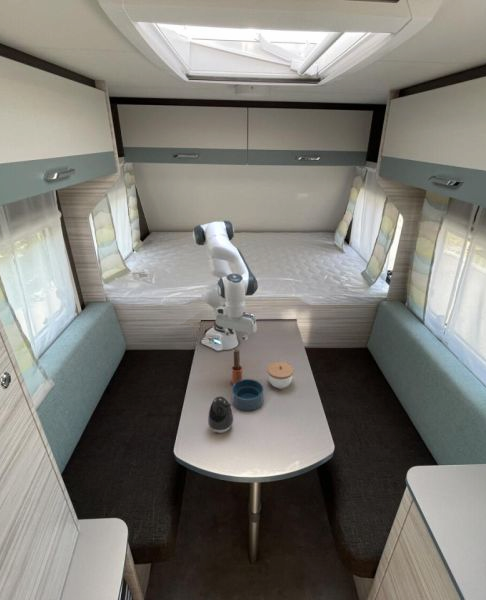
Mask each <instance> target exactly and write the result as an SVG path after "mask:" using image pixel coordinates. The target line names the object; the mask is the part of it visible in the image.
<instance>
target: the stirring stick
mask: <svg viewBox="0 0 486 600" xmlns="http://www.w3.org/2000/svg"><path fill="white" fill-rule="evenodd" d="M240 355H241V353H240V350H239V349H235V350H234V351H233V366H234V370H240V365H241V361H240V360H241V359H240V357H241V356H240Z"/></svg>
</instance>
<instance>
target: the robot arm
mask: <svg viewBox="0 0 486 600" xmlns="http://www.w3.org/2000/svg"><path fill="white" fill-rule="evenodd" d="M234 236H235V228H234V225H233V224H232V222H231V221H230V220H222V221H212V222H208V223H204V224H201V225H200V224H198V225H196V226H194V227H193V229H192V239H193V241H194V242H195V244H196V245H198V246H205V249H206V250H205V252H206V258H207V259H206V260H207V264H208V268H209V269H208V270H209V272H210V274H211V275H212V276H215V277H217V278H219V280H218V281H217V282H216V283H211V284H209V285H205V286H204V287H202V289H201V298H202V300H203V302H204V303H205V304H206V305H209V306H211V307H212V309H213V310H214V315H215V321H214V322H213V323H212V324H211V326H210V327H208V328H206V329H205V330H204V334H205V335H204V337H203V338H202V339H201V344H202V345H204V346H206V347H209V348H210V349H213V350H215V351H217V352H222V351H227V350H233V349H234V348H237V347H238V345H239V340H238V337H237V332H241V333H244V335H243V336H242V341H247V340H248V337H249V335H254V334H256V332H257V331H258V326H257V324H258V323H257V317H256V315H254V314H253V313H250V312H246V301H245V297H246V296H253V295H254V294H255V293H256V292H257V291H258V289H259V288H258V287H259V285H258V280H257V277H256V276H255V275H254V274H253V272H252V270H251V269H250V267H249V265H248V263H247V261H246V259H245V257H244V255H243V253H242V252H241V250H240V249H239V247H236V246H234V244H232V242H231V241H232V240H233V239H234ZM230 263H232V264H234V265H235V266H236V267H237V270H238V272H239V273H240V274H239V273H233V271H232V269H231V266H230Z"/></svg>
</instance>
